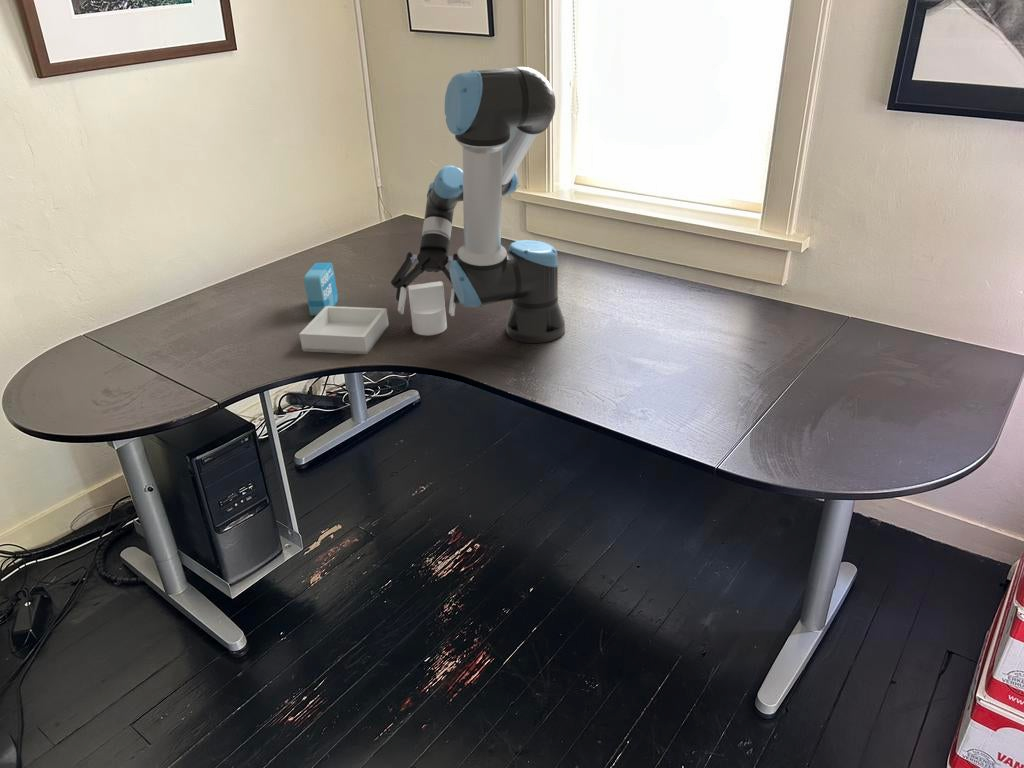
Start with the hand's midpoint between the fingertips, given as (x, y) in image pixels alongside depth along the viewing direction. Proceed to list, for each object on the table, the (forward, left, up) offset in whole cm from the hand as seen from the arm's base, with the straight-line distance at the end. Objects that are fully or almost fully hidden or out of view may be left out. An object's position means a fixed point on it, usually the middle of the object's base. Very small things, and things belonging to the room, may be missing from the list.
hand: (425, 313), depth 192 cm
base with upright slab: (0, -2, -5) cm, 6 cm away
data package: (+33, -11, -5) cm, 35 cm away
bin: (+20, +6, -5) cm, 21 cm away
